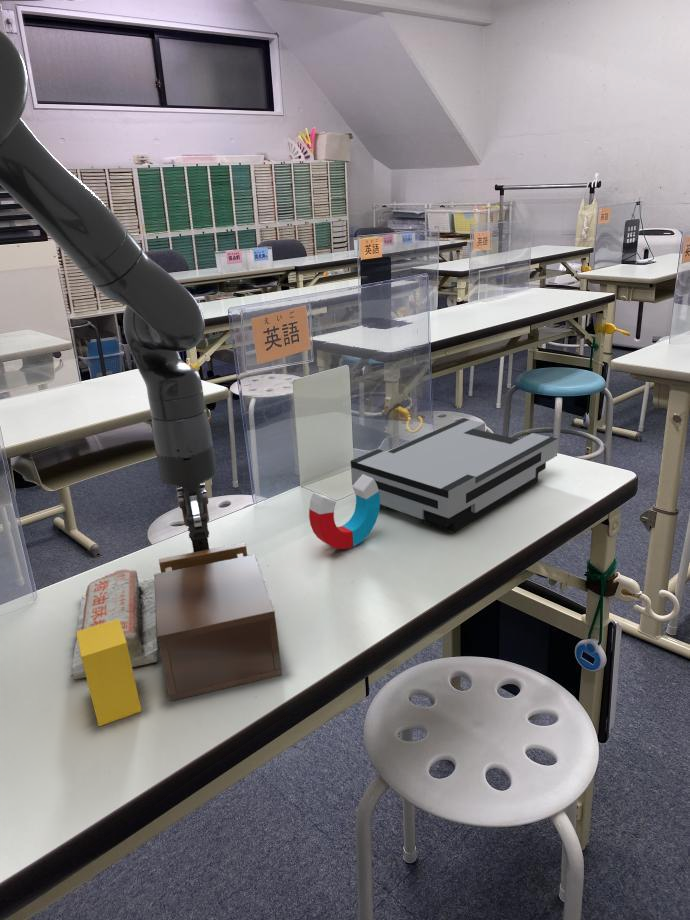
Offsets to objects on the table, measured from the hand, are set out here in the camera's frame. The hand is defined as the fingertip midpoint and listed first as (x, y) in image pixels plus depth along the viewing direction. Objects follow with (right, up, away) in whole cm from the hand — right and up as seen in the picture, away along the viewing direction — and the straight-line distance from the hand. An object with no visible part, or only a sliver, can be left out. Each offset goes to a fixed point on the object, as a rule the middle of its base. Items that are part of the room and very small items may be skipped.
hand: (202, 557), depth 98 cm
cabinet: (+5, -9, -15) cm, 18 cm away
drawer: (+3, -6, -8) cm, 10 cm away
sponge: (-5, -13, -23) cm, 26 cm away
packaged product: (-9, -8, -9) cm, 15 cm away
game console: (+40, +9, +25) cm, 48 cm away
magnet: (+21, +1, +8) cm, 22 cm away
